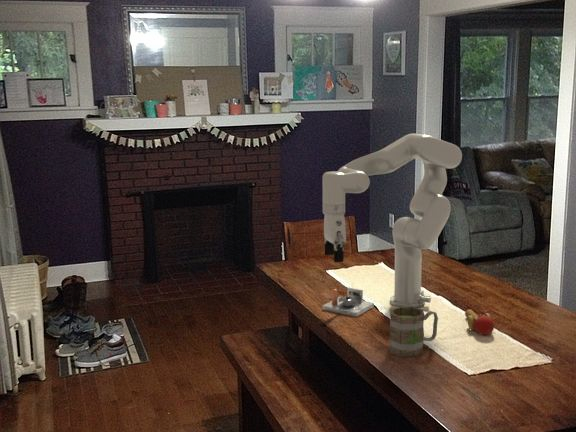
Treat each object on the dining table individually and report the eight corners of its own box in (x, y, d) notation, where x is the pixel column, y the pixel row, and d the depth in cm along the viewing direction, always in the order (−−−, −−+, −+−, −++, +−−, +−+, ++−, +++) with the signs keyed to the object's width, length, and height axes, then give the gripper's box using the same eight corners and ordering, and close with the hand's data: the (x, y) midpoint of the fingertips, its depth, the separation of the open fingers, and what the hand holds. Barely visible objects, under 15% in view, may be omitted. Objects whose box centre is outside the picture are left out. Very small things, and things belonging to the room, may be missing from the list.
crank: (344, 300, 238) (344, 280, 236) (358, 302, 234) (358, 282, 233) (326, 309, 228) (325, 289, 227) (340, 313, 225) (340, 291, 223)
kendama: (455, 322, 223) (473, 335, 205) (458, 304, 223) (476, 315, 205) (477, 325, 223) (497, 338, 205) (480, 307, 223) (500, 318, 205)
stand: (373, 306, 235) (373, 291, 234) (356, 317, 226) (356, 300, 225) (340, 300, 244) (340, 284, 242) (322, 309, 234) (322, 293, 233)
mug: (397, 359, 191) (398, 320, 189) (382, 345, 202) (382, 308, 199) (445, 351, 196) (446, 313, 193) (428, 338, 206) (429, 302, 203)
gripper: (353, 212, 211) (353, 263, 215) (336, 203, 228) (335, 251, 231) (331, 214, 209) (331, 265, 213) (315, 204, 226) (315, 252, 229)
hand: (333, 258), depth 222 cm, fingers open, 9 cm apart
